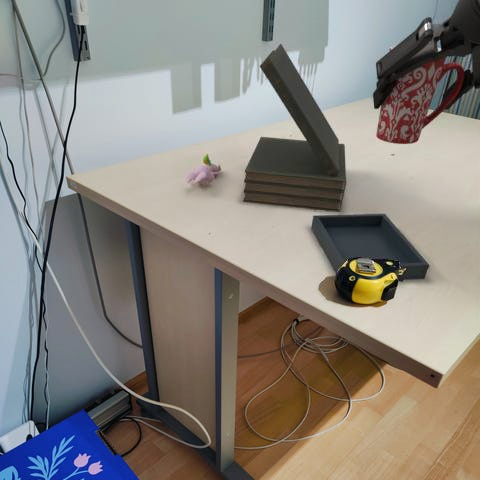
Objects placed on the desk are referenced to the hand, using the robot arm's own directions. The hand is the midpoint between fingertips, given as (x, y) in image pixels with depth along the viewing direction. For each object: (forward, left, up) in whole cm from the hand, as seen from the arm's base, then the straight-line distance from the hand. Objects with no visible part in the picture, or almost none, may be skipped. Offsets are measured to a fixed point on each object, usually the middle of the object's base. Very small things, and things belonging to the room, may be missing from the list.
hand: (410, 101), depth 73 cm
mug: (0, +2, -6) cm, 6 cm away
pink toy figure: (+35, -14, -20) cm, 43 cm away
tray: (+10, +17, -20) cm, 28 cm away
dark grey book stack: (+15, -12, -20) cm, 28 cm away
